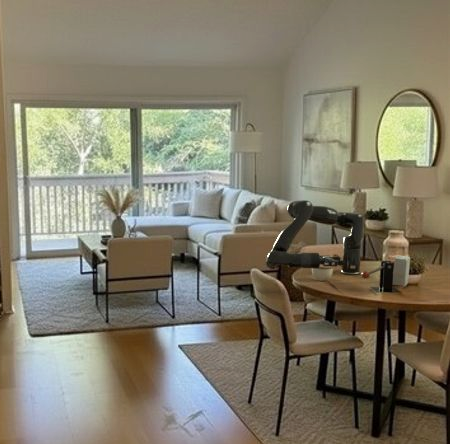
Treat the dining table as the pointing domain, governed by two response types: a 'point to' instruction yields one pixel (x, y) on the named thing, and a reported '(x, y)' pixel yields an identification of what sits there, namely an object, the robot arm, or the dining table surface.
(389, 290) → the bracket
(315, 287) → the dining table surface
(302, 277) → the dining table surface
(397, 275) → the cosmetic box
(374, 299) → the dining table surface
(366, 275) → the lever
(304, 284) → the dining table surface
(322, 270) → the trinket box
